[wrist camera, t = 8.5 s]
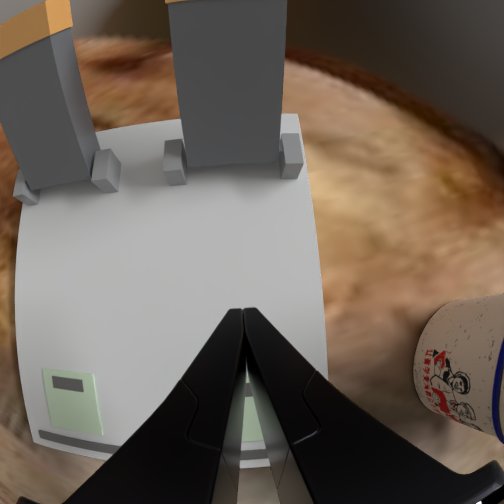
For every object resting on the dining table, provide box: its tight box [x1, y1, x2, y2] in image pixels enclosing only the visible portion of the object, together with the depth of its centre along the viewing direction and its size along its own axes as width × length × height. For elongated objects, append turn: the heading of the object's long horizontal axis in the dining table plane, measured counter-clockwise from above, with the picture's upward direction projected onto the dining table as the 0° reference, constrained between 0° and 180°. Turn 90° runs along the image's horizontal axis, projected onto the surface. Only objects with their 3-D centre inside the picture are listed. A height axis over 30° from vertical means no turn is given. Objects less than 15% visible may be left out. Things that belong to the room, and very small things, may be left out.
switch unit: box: [13, 114, 328, 468], centre depth 16 cm, size 22×20×4 cm
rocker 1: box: [0, 0, 101, 191], centre depth 12 cm, size 3×5×11 cm, turn 94°
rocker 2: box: [165, 0, 287, 167], centre depth 13 cm, size 3×5×11 cm, turn 94°
